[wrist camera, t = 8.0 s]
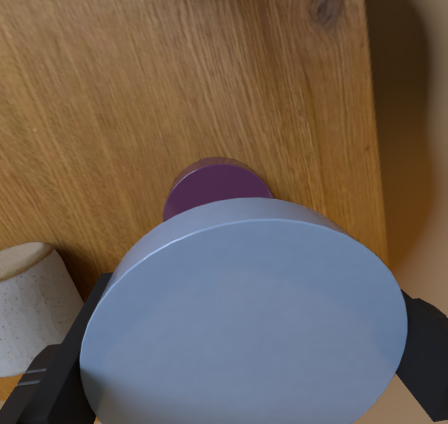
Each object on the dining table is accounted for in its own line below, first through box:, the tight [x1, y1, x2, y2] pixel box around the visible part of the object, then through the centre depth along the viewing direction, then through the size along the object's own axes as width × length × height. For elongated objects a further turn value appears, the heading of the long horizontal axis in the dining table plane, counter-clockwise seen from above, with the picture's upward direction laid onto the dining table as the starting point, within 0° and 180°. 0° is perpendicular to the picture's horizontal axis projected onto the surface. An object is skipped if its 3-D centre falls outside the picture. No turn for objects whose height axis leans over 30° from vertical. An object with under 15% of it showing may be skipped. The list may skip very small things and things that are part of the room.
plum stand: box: [163, 157, 274, 222], centre depth 23 cm, size 9×9×4 cm
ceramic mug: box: [0, 242, 84, 377], centre depth 22 cm, size 11×8×8 cm
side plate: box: [80, 198, 408, 424], centre depth 10 cm, size 11×11×2 cm
